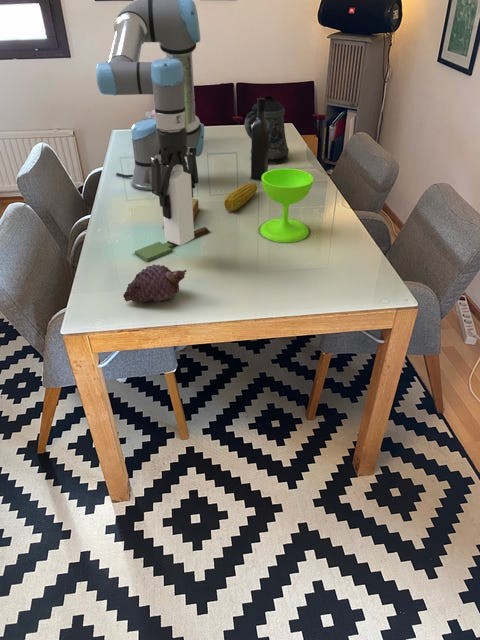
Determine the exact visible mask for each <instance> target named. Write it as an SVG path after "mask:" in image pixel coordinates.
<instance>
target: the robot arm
mask: <svg viewBox="0 0 480 640" xmlns="http://www.w3.org/2000/svg"><path fill="white" fill-rule="evenodd" d="M200 29H201V28H200V23H199V16H198V10H197V5H196V2H194V0H134V1H133V2H130V3H129V4H127V5H126V6H125V7H123V8H122V9H121V10H120V12H119V13H117V15H116V18H115V21H114V24H113V32H114V40H113V43H112V47H111V52H110V55H109V60H108V61H104V62H98V63H97V64H96V67H95V77H96V83H97V88H98V90H99V92H100V93H101V94H102V95H105V96H106V95H107V96H108V95H109V96H133V95H134V96H135V95H143V96H144V95H153V103H154V109H155V119H147V118H146V119H147V120H143V119H142V120H139V121H137V122H136V123H134V124H133V125H132V126H131V128H130V130H131V131H130V132H131V143H132V150H133V159H134V168H133V173H132V174H124V173H120V172H116V173H115V175H116V176H119V177H122V178H132V179H131V182H132V186H133V187H134V189H137V190H141V191H151V193H152V194H153V195H155V196H157V197H158V200H159V206H160V208H161V209H163V210H162V217H163V216H164V217H166V218H168V219H171V209H170V197H169V195H167V190H168V185H169V179H170V175H171V171H172V170H173V167H174V166H175V165H177V164H178V165H182V166H183V172H186V173H188V174H191V188H192V199H194V189H195V188H196V185H198V184H199V182H200V179H199V172H198V166H197V157H200V156H201V155H202V153H203V150H204V149H203V148H204V139H205V138H204V137H205V125H204V123H201V121H200V118H199V117H198V116H197V115H196V103H195V88H194V87H195V84H194V83H195V82H194V69H193V67H194V66H193V65H194V64H193V52H194V51H195V50H196V48H197V43H200V42H201V30H200ZM144 43H158V44H159V49H160V51H161V52H163V53H164V55H165V57H164V58H158V59H154V60H153V61H140V57H141V52H142V45H144ZM167 165H168V166H167Z"/></svg>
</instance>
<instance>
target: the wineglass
mask: <svg viewBox="0 0 480 640" xmlns="http://www.w3.org/2000/svg"><path fill="white" fill-rule="evenodd" d="M261 179H262V180H261V186H262V188H263V191H264V193H265V194H266V195H267V196H268V197H269V199H271V200H272V201H273V202H276V203H278V204H280V205H282V212H281V215H282V216H281V218H273V219H270V220H268V221H266V222H264V223H263V224H262V225H261V226H260V228H259V233H260V235H261V236H262V237H263V238H264V239H267V240H269V241H271V242H272V241H273V242H275V243H276V242H277V243H296V242H299V241H302V240H304V239H306V238H307V237H308V236H309V234H310V231H309V228H308V226H307V225H306V224H304V222H302V221H299V220H297V219H293V218H289V209H290V208H289V207H290V205H294V204H296V203H298V202H300V201H302V200H304V198H306V196H308V195H309V193H310V191H311V190H312V187H313V183H314V176H313V175H312V174H311V173H309V172H308V171H306V170H301V169H296V168H286V167H285V168H274V169H271V170H268V171H267V172H265V173H264V174H263V175H262V177H261Z"/></svg>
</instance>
